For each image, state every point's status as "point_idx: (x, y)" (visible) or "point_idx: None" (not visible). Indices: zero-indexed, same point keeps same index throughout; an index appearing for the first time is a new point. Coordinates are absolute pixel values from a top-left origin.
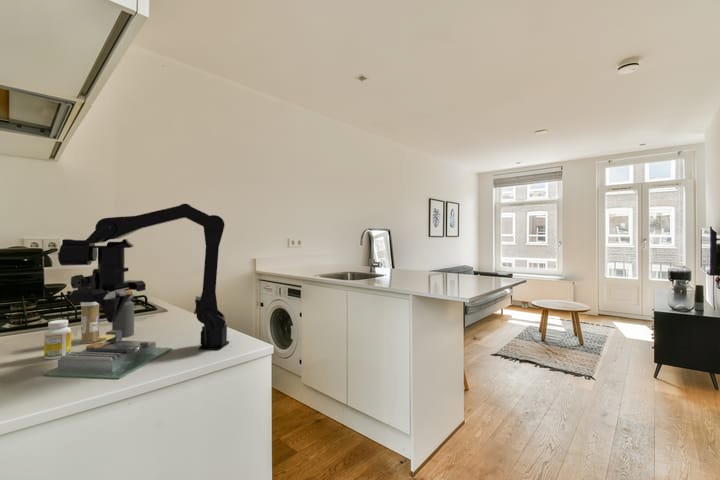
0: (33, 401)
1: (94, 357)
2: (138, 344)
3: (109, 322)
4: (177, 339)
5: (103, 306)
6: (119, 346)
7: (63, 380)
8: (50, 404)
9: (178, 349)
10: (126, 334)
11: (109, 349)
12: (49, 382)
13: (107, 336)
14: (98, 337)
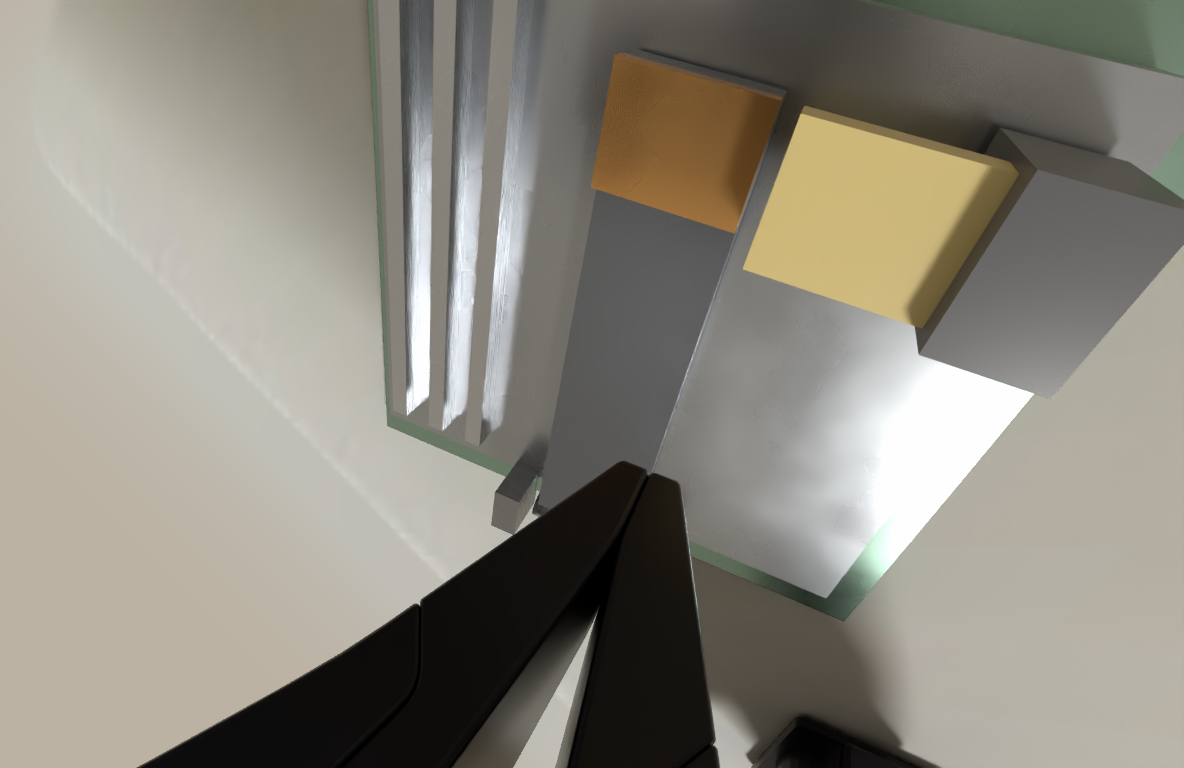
0: (129, 128)
1: (391, 296)
2: (776, 494)
3: (627, 469)
4: None
5: (269, 759)
6: (630, 402)
7: (333, 105)
8: (147, 235)
9: (847, 637)
10: None
11: (572, 337)
12: (291, 16)
13: (818, 258)
14: (799, 136)
